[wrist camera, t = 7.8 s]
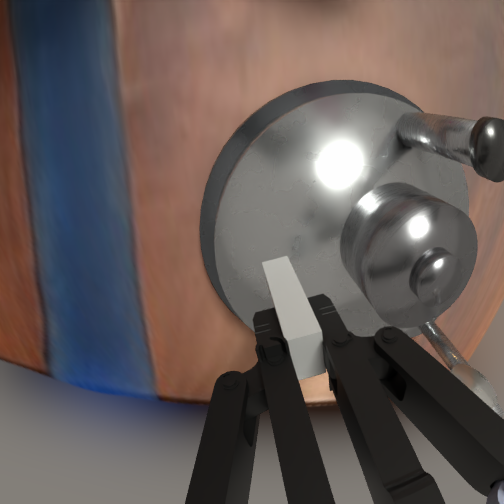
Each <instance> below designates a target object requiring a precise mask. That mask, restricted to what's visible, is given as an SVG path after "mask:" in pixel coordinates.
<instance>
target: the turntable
mask: <svg viewBox="0 0 504 504" xmlns="http://www.w3.org/2000/svg"><path fill="white" fill-rule="evenodd" d="M461 163H463V164H466V165H468V166H471V167H473V168H474V170H475V171H476V173H477V174H478V175H480V176H481V177H484V178H486V179H489V180H491V181H493V182H501V181H503V180H504V120H502V119H498V118H493V117H482V118H480V119H479V120H478V121H476V120H471V119H465V118H459V117H452V116H445V115H437V114H429V113H422V112H421V111H419V110H418V109H416V108H414V107H412V106H410V105H408V104H406V103H405V102H402V101H400V100H397V99H394V98H391V97H387V96H383V95H377V94H370V93H346V94H336V95H330V96H325V97H320V98H316V99H313V100H310V101H307V102H304V103H302V104H299V105H297V106H295V107H293V108H291V109H289V110H287V111H286V112H284V113H282V114H280V115H279V116H278V117H276V118H275V119H274V120H272V121H271V122H270V123H268V124H267V125H266V126H264V127H263V128H262V129H261V130H260V131H259V132H258V133H257V134H256V135H255V136H254V137H253V138H252V139H251V140H250V141H249V143H248V144H247V145H246V147H245V148H244V149H243V151H242V152H241V153H240V155H239V156H238V157H237V159H236V161H235V163H234V164H233V166H232V168H231V170H230V172H229V173H228V175H227V178H226V180H225V183H224V185H223V188H222V191H221V193H220V197H219V202H218V206H217V210H216V218H215V230H214V247H215V261H216V267H217V271H218V276H219V280H220V283H221V286H222V288H223V291H224V293H225V296H226V298H227V299H228V301H229V303H230V304H231V306H232V308H233V310H234V311H235V312H236V314H237V315H238V316H239V317H240V318H241V320H242V321H243V322H244V323H245V324H246V325H247V326H248V327H249V328H250V329H251V330H253V331H254V332H255V330H254V325H253V317H254V314H255V312H258V311H262V310H266V309H270V308H273V306H272V302H271V298H270V294H269V290H268V286H267V282H266V278H265V274H264V269H263V265H262V262H266V261H269V260H273V259H277V258H281V257H285V256H288V258H289V261H290V263H291V265H292V267H293V269H294V271H295V273H296V275H297V278H298V280H299V282H300V284H301V286H302V288H303V291H304V293H305V295H306V297H307V298H308V297H312V296H316V295H319V294H324V295H326V296H327V297H329V298H330V299H331V301H332V303H333V305H334V306H335V308H336V310H337V312H338V314H339V315H340V317H341V319H342V321H343V323H344V324H345V326H346V328H347V330H348V331H350V332H352V333H353V334H354V335H356V336H360V337H368V336H375V333H376V332H377V331H378V330H379V329H380V328H383V327H386V326H391V325H389V324H387V323H386V322H384V321H383V320H382V319H381V318H380V317H379V315H378V314H377V313H376V311H375V310H374V308H373V307H372V306H371V304H370V303H369V301H368V300H367V299H366V297H365V296H364V294H363V293H362V292H361V290H360V289H359V288H358V286H357V285H356V283H355V282H354V281H353V279H352V278H351V277H350V275H349V274H348V272H347V271H346V269H345V267H344V265H343V262H342V259H341V254H340V240H341V234H342V230H343V227H344V224H345V222H346V220H347V218H348V215H349V214H350V212H351V211H352V209H353V208H354V206H355V205H356V204H357V203H358V201H359V200H360V199H361V198H362V197H363V196H365V195H366V194H367V193H369V192H370V191H371V190H373V189H375V188H377V187H379V186H381V185H384V184H388V183H394V182H402V183H407V184H410V185H413V186H415V187H417V188H419V189H421V190H423V191H425V192H427V193H429V194H431V195H433V196H435V197H437V198H439V199H441V200H443V201H445V202H447V203H449V204H451V205H452V206H454V207H456V208H458V209H460V210H461V211H463V212H464V213H465V214H466V215H467V216H468V217H469V198H468V188H467V183H466V178H465V174H464V171H463V168H462V165H461ZM397 328H398V327H397ZM399 329H400V330H402V329H404V328H399Z"/></svg>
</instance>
